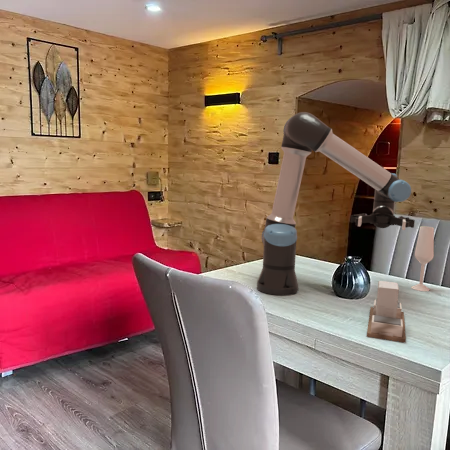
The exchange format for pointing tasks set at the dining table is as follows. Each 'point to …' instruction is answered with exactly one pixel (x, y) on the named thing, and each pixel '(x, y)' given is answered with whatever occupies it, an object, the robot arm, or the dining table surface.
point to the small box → (387, 299)
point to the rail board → (387, 325)
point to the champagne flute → (424, 252)
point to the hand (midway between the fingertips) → (381, 224)
